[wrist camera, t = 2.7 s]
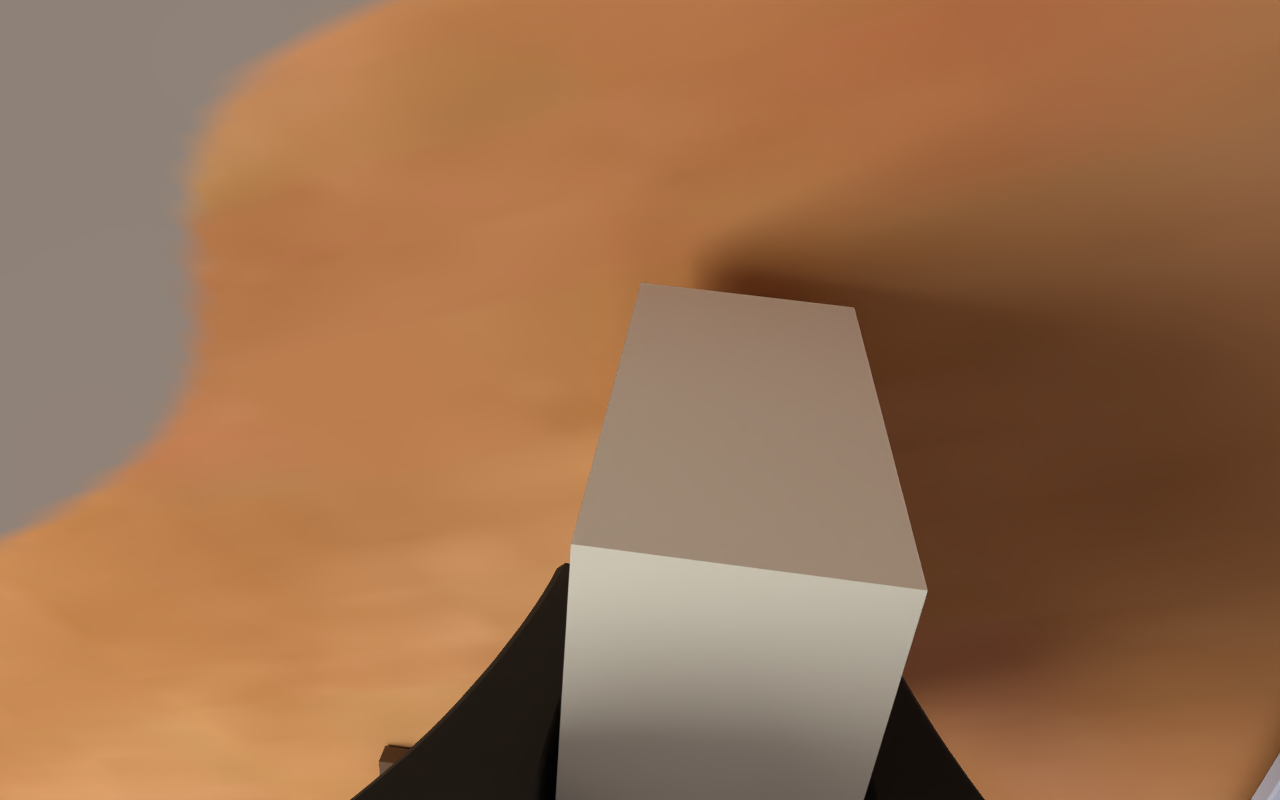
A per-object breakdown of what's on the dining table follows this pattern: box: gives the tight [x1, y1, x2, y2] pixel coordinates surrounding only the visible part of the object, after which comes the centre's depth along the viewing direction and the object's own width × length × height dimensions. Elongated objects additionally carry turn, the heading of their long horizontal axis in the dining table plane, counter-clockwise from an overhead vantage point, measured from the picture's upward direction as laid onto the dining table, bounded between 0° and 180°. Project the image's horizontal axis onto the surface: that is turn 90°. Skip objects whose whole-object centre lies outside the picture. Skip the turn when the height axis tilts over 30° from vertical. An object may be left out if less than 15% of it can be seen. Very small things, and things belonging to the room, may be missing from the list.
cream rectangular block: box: [556, 283, 928, 800], centre depth 13 cm, size 3×9×6 cm, turn 175°
